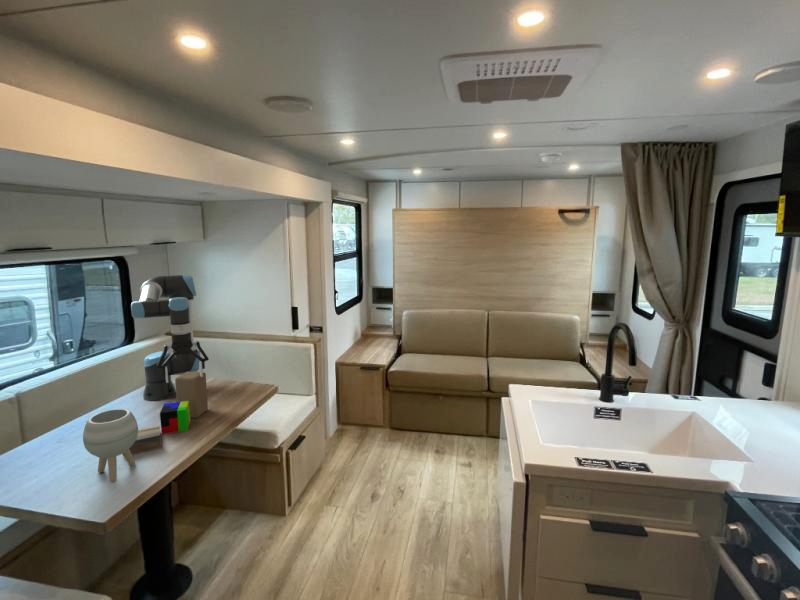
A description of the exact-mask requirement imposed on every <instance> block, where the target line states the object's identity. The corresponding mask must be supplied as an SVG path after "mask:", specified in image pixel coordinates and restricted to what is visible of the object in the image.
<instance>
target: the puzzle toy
mask: <svg viewBox="0 0 800 600" xmlns="http://www.w3.org/2000/svg"><path fill="white" fill-rule="evenodd" d="M159 420H160V433H161V435H164V434H165V433H166V434H171V433H172V434H173V433H177V432H178V433H180V432H185V431H186V432H187V431H188V430H189V427H190V422H191V418H190V411H189V401H183V402H177V401H175V402H167V403H164V404H163V405H162V408H161V410H160V412H159Z"/></svg>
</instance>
